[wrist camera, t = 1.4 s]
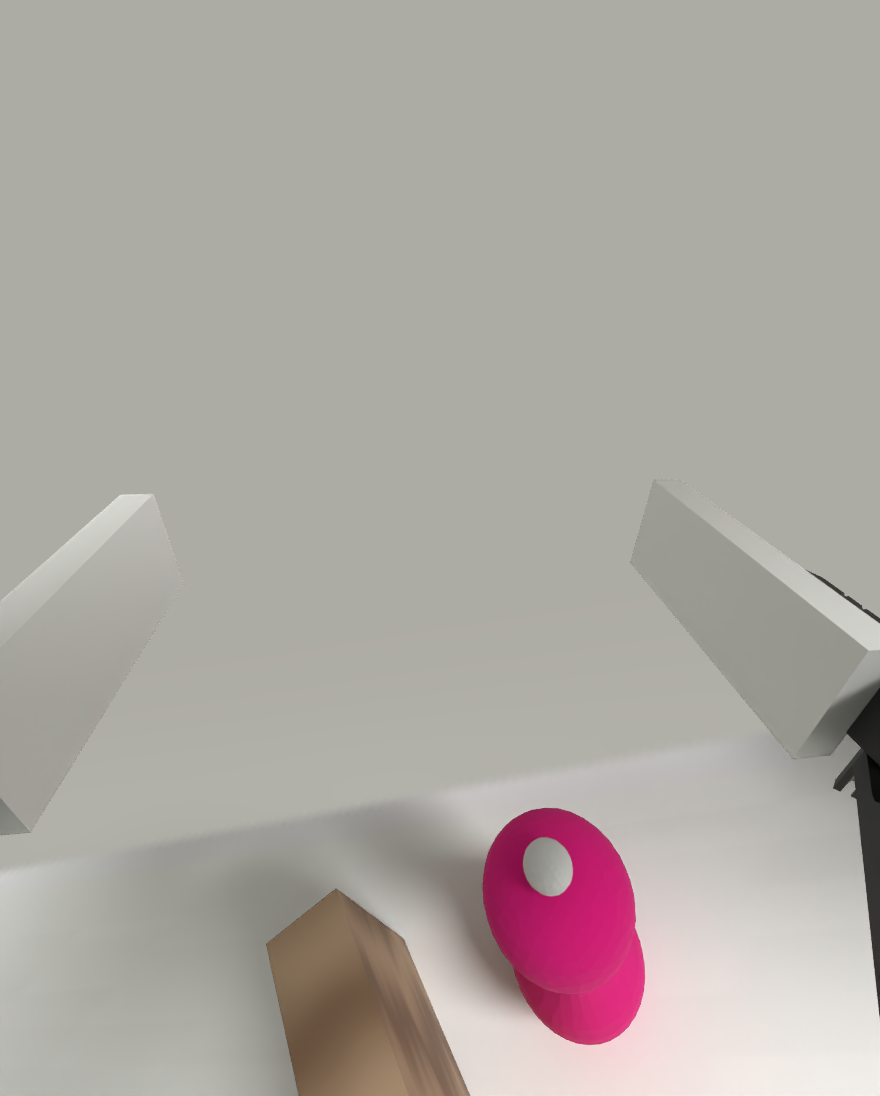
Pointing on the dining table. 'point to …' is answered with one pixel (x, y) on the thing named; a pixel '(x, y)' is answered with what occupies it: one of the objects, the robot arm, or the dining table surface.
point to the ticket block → (357, 1008)
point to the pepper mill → (566, 923)
